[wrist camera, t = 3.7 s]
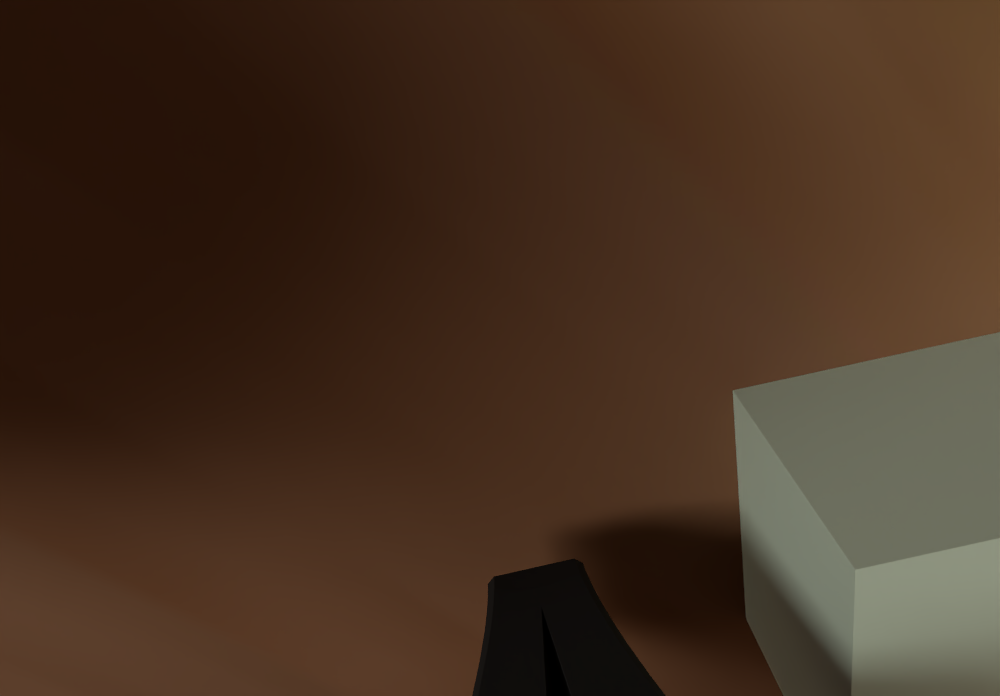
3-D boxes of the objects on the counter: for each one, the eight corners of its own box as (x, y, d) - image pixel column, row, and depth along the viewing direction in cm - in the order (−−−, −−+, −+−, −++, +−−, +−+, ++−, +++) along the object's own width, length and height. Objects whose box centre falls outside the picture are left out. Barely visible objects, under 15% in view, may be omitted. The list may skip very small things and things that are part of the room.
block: (1009, 554, 15) (1192, 750, 12) (743, 612, 15) (847, 827, 12) (1046, 316, 13) (1291, 473, 9) (729, 385, 13) (855, 569, 9)
